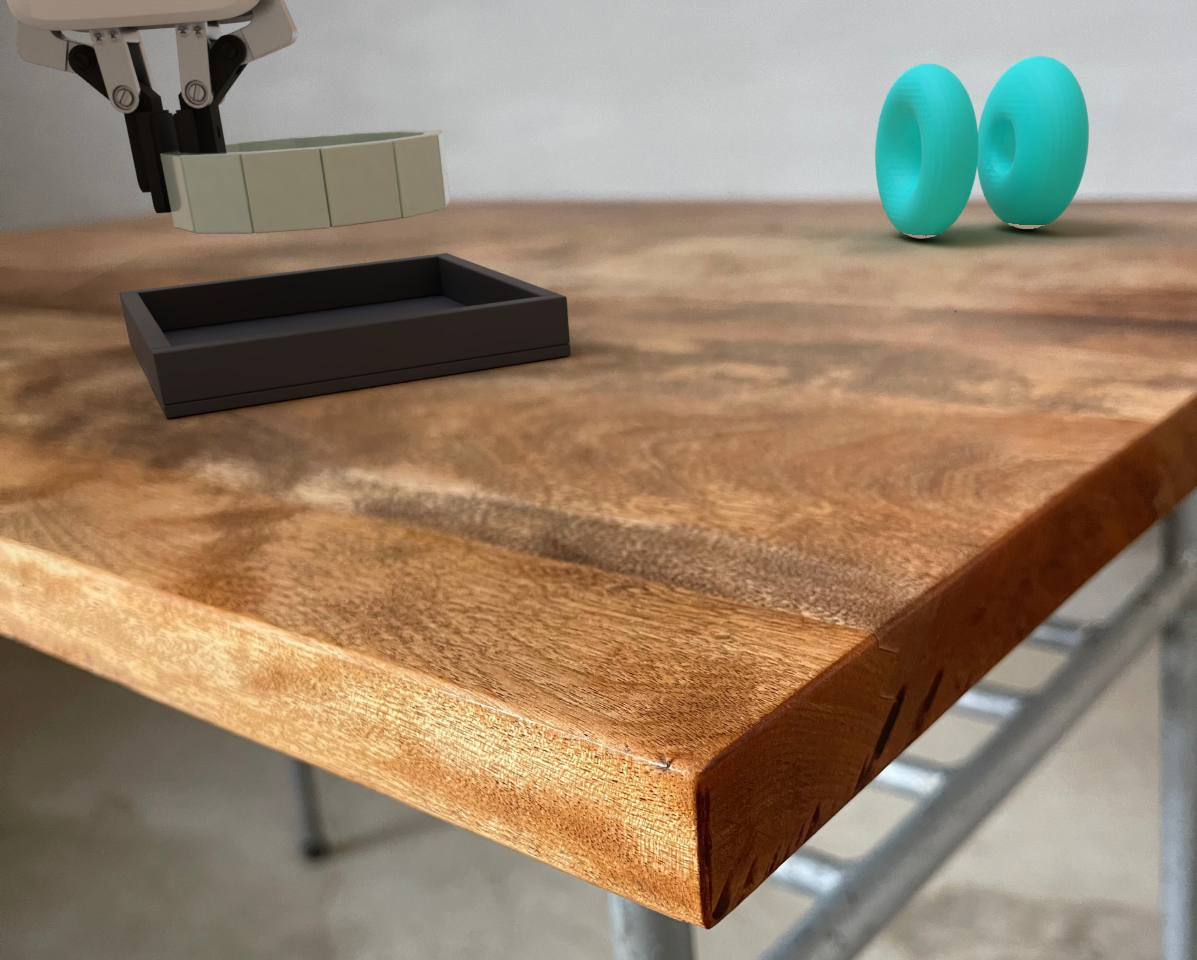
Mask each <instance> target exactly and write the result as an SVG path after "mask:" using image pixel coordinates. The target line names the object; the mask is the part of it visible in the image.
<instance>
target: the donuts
mask: <svg viewBox="0 0 1197 960" xmlns="http://www.w3.org/2000/svg"><path fill="white" fill-rule="evenodd" d="M1084 95H1085V94H1084V93H1083V90H1082V87H1081V85H1080V83H1079V81H1078V80H1077V78H1076V77H1075V75H1074V73H1073V72H1072V71H1071V70H1070V68H1068V66H1067V65H1065V64H1064V63H1062V61H1059V60H1058V59H1056V58H1054V57H1050V56H1046V55H1033V56H1029V57H1026V58H1023V59H1021V60H1020V61H1017V62H1016V63H1014V64H1012V65H1011V66H1009V68H1008V69H1007V70H1005V72H1003V74H1002V75H1001V76H1000V77H999V78H998V80H997V81H996V82H995V84H994V85H993V87H992V89H991V90H990V92H989V94H988V96H987V98H986V101H985V103H984V106H983V109H982V111H981V116H980V119H979V124H978V123H977V117H976V113H975V108H974V105H973V102H972V99H971V97H970V94H969V93H968V90H967V89H966V87H965V85H964V84H963V83H962V81H961V80H960V79H959V77H958V76H957V75H955V73H953V72H952V71H951V70H949V69H948V68H947V67H944V66H942V65H940V64H936V63H929V62H928V63H920V64H917V65H914V66H912V67H910V68H909V69H907V70H906V71H904V72H903V73H901V74H900V76H899V77H898V78H897V79H896V80H895V81H894V83H893V84H892V86H891V87H890V89H889V90H888V92H887V95H886V96H885V99H884V102H883V104H882V108H881V110H880V114H879V117H878V118H879V119H878V123H877V128H876V129H877V130H876V135H875V136H876V137H875V146H874V147H875V148H874V151H875V152H874V163H875V177H876V184H877V189H878V194H879V198H880V202H881V204H882V207H883V210H884V213H885V214H886V216H887V218H888V221H890V223H891V224H892V226H893V227H894V228H895V229H896V230H897V231H898V232H899V231H900V233H901V232H903V233H906V234H912V235H923V236H924V235H925V236H927V235H938V234H940V235H941V234H943V233H944V232H946V231H948V230H949V229H950V228H951V227H952V226H953V225H954V224H955V222H956V221H957V220H959V217H960V216H961V215H962V213H963V211H964V210H965V208H966V205H967V204H968V202H969V199H970V196H971V195H972V191H973V187H974V184H975V180H976V175H978V180H979V185H980V188H981V191H982V194H983V197H984V199H985V201H986V203H987V204H988V206H989V208H990V209H991V210H992V212H993V213H994V215H995V216H996V217H997V218H998V219H999V220H1001V222H1003V223H1004V222H1006V223H1012V224H1019V225H1046V224H1048V225H1050V224H1052V223H1053V222H1054V221H1056V220H1057V219H1058V218H1059V217H1061V216H1062V215H1063V213H1064V212H1065V211H1066V210H1067V209H1068V207H1069V206H1070V204H1071V203H1072V201H1073V199H1074V198H1075V196H1076V194H1077V192H1078V190H1079V187H1080V185H1081V182H1082V179H1083V176H1084V173H1085V168H1086V165H1087V164H1086V163H1087V159H1088V151H1089V139H1090V138H1089V137H1090V124H1089V123H1090V122H1089V114H1088V108H1087V103H1086V99H1085V96H1084ZM1006 223H1005V224H1006ZM1046 226H1047V225H1046ZM938 236H939V235H938Z"/></svg>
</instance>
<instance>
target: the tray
mask: <svg viewBox="0 0 1197 960" xmlns="http://www.w3.org/2000/svg"><path fill="white" fill-rule="evenodd" d="M118 295H119V299H120V302H121V303H120V304H121V309H122V313H123V318H124V323H125V327H126V331H127V332H126V333H127V336H128V342H129V344H130V347H131V348H132V351H133V352H134V355H135V358H136V359H137V361H138V363H139V365H140V367H141V370H142V371H143V373H144V375H145V378H146V380H147V381H148V384H149V385H150V388H151V390H152V392H153V394H154V396H155V398H156V401H157V402H158V404H159V406H160V408H161V410H162V412H163V415H164V417H165V418H166V419H174V418H180V417H185V416H191V415H192V416H193V415H199V414H206V413H212V412H219V411H225V410H230V409H236V408H244V407H249V406H257V405H263V404H270V403H274V402H275V403H276V402H282V401H288V400H289V401H290V400H294V399H295V400H296V399H301V398H302V399H303V398H308V397H314V396H321V395H326V394H333V393H339V392H345V391H353V390H359V389H365V388H366V389H367V388H372V387H377V386H385V385H391V384H398V383H403V382H409V381H418V380H423V379H430V378H437V377H442V376H449V375H455V374H461V373H468V372H475V371H480V370H488V369H493V368H501V367H506V366H513V365H518V364H520V365H521V364H524V363H532V362H538V361H543V360H544V361H545V360H550V359H558V358H565V357H570V356H571V355H572V352H571V350H572V349H571V344H570V343H571V340H570V323H569V310H568V297H567V296H566V295H564V294H560V293H558V292H555V291H552V290H549V289H548V288H547V289H546V288H544V287H541V286H538V285H535V284H533V283H530V282H528V281H525V280H522V279H519V278H517V277H514V276H511V275H508V274H506V273H502V272H500V271H497V270H494V269H492V268H489V267H487V266H483V265H481V264H478V263H475V262H472V261H469V260H467V259H464V258H461V257H459V256H456V255H453V254H451V253H448V252H443V253H435V254H426V255H418V256H411V257H403V258H402V257H401V258H393V259H385V260H377V261H368V262H361V263H360V262H359V263H350V264H343V265H336V266H327V267H319V268H318V267H317V268H310V269H300V270H293V271H285V272H275V273H267V274H260V275H252V276H251V275H250V276H243V277H236V278H235V277H233V278H227V279H218V280H210V281H201V282H194V283H185V284H176V285H168V286H161V287H151V288H144V289H135V290H127V291H119V294H118Z"/></svg>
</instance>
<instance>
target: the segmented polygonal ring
mask: <svg viewBox="0 0 1197 960" xmlns="http://www.w3.org/2000/svg"><path fill="white" fill-rule="evenodd" d="M445 145H446V144H445V137H444V131H443V130H441V129H440V130H439V129H406V130H405V129H401V130H377V131H358V132H343V133H341V132H340V133H330V134H329V133H328V134H318V135H317V134H313V135H301V136H288V137H278V138H277V137H276V138H266V139H255V140H254V139H253V140H245V141H234V142H233V141H232V142H225V146H226V151H227V153H201V154H193V153H181V152H179V149H178V150H174V151H170V152H165V153H161V154H160V155H161V161H162V166H163V171H164V176H165V181H166V186H167V191H168V197H169V202H170V207H171V212H170V213H171V216H172V217H171V218H172V222H173V228H174V229H178V230H181V231H185V232H189V233H194V234H200V235H201V234H205V235H206V234H207V235H209V234H210V235H211V234H214V235H215V234H216V235H217V234H218V235H219V234H220V235H223V234H224V235H225V234H227V235H228V234H231V235H232V234H233V235H235V234H236V235H245V234H247V235H248V234H249V235H252V234H267V233H280V232H282V233H283V232H294V231H295V232H296V231H309V230H324V229H325V230H326V229H331V228H341V227H349V226H358V225H364V224H371V223H379V222H387V221H393V220H400V219H407V218H412V217H417V216H420V215H425V214H430V213H433V212H438V211H441V210H445V209H446V208H447V206H449V204H450V203H451V193H450V182H449V174H448V173H449V172H448V165H447V164H448V163H447V155H446V147H445Z"/></svg>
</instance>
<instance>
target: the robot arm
mask: <svg viewBox="0 0 1197 960" xmlns="http://www.w3.org/2000/svg"><path fill="white" fill-rule="evenodd" d="M5 1H6V4H7V6H8V9H9V10H10V12H11V14H12V16H13V17H14V18H15V19H17V31H16V51H17V52H16V53H17V54H18V56H19V57H20V58H21V59H22V60H23V61H24V62H26V63H30V64H33V65H37V66H41V67H46V68H48V69H49V68H50V69H53V70H58V71H61V72H67V73H71V74H76V75H77V76H79V77H80V78H81V79H82V80H84V82H86V83H87V84H88V85H89V86H91V87H92V88H93V89H94V90H96V91H97V92H98V93H99V94H101V95H102V96H103V97H104V98H105V99H106V100H108V101H109V102H110V105H111V107H113V109H114V110H116V111H117V112H119V113H122V114H123V117H124V121H125V126H126V131H127V136H128V141H129V146H130V151H131V156H132V161H133V167H134V171H135V176H136V181H137V185H138V188H139V190H140V191H141V192H142V193H143V194H146V193H150V196H151V201H152V206H153V209H154V213H156V214H170V213H171V207H170V202H169V197H168V191H167V186H166V181H165V176H164V171H163V166H162V161H161V155H160V154H161V153H165V152H170V151H174V150H178V149H179V152H181V153H193V154H201V153H227V151H226V146H225V143H226V141H225V134H224V129H223V123H222V117H221V112H220V106H221V105H222V104H223V103H224V102H225V100H226V98H227V94H228V93H229V91H230V89H231V88H232V87H233V85H235V82H236V81H237V80H238V78H239V77H240V76H241V75H242V73H243V71H244V70H245V68H246V67H247V66H248V65H249V63H252V62H255V61H257V60H258V59H262V58H264V57H267V56H269V55H272V54H274V53H277V52H278V51H280V50H283V49H285V48H288V47H290V46H292V45H293V44H295V43H296V42H297V39H298V28H297V27H296V24H295V21H294V19H293V17H292V14H291V12H290V10H289V8H288V5H287V3H286V1H285V0H5ZM246 22H249V23H248V24H246V25H245V26H243V27H240V28H239V29H236V30H233V31H232V32H229V33H227V34H222V25H229V24H239V23H246ZM161 29H162V30H163V29H175V39H176V49H177V51H176V52H177V59H178V71H179V72H178V73H179V81H180V82H179V83H180V92H179V93H178V95H177V98H178V103H179V108H180V109H176V110H175V112H174V113H172V112H170V110H169V109H164V106H163V100H162V96H161V95H160V94H158V93H157V89H156V86H155V82H154V80H153V75H152V71H151V68H150V64H149V61H148V58H147V54H146V50H145V46H144V44H143V40H142V35H141V33H140V31H146V30H147V31H148V30H161ZM62 31H63V32H65V31H70V32H75V33H76V32H77V33H85V34H86V33H89V36H90V39H91V42H92V44H91V43H87V42H83V41H79V40H75V39H72V38H69V37H66V36H65V34H64V33H63V32H62Z"/></svg>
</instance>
